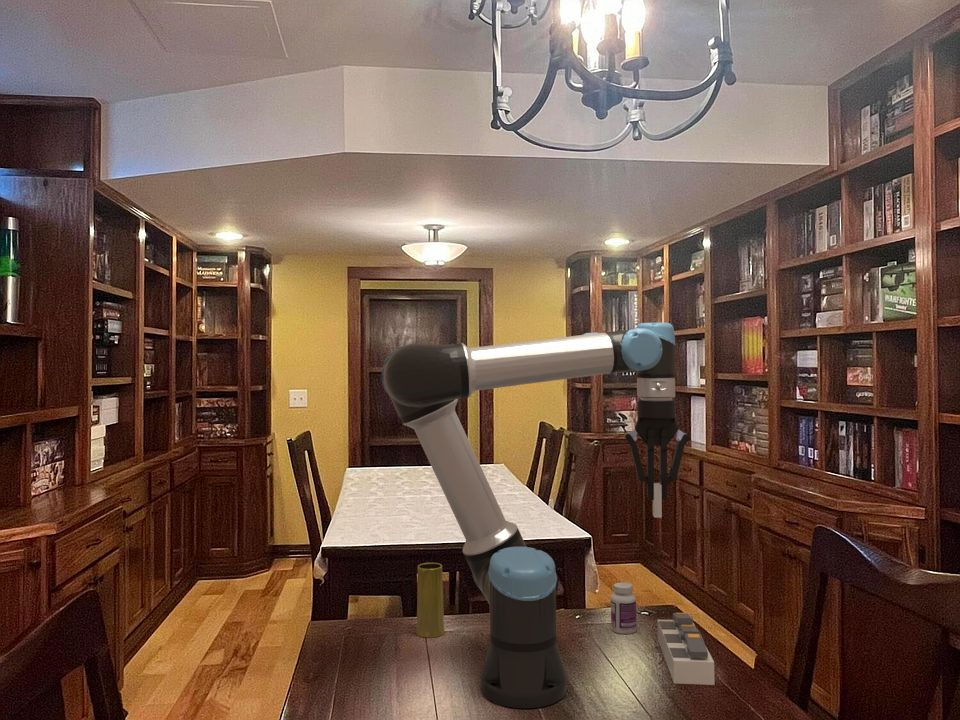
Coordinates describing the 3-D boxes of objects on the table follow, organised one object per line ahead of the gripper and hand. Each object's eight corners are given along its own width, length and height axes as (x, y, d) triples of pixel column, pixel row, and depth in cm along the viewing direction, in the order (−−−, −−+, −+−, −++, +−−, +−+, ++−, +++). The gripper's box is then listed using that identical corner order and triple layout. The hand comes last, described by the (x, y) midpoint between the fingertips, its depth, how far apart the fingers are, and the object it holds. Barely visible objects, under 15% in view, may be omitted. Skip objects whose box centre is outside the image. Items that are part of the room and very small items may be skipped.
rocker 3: (690, 657, 128) (690, 650, 128) (684, 639, 134) (684, 632, 134) (707, 658, 128) (707, 651, 128) (701, 639, 134) (701, 633, 133)
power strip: (674, 683, 128) (673, 656, 128) (657, 638, 149) (657, 616, 149) (714, 685, 127) (714, 658, 127) (692, 640, 148) (692, 617, 148)
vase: (413, 629, 155) (412, 563, 155) (440, 626, 157) (440, 560, 157) (419, 639, 149) (419, 570, 150) (448, 636, 151) (447, 568, 151)
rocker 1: (677, 624, 142) (677, 617, 142) (672, 619, 148) (672, 612, 148) (693, 624, 141) (692, 617, 142) (687, 619, 147) (687, 612, 148)
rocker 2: (683, 637, 135) (683, 630, 135) (678, 631, 141) (678, 624, 141) (700, 638, 134) (699, 630, 135) (694, 631, 140) (693, 624, 141)
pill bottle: (640, 628, 155) (639, 583, 155) (631, 636, 150) (630, 590, 150) (616, 624, 157) (615, 579, 158) (607, 631, 153) (606, 586, 153)
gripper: (624, 400, 142) (625, 519, 142) (692, 400, 141) (693, 520, 141) (621, 398, 150) (622, 511, 150) (686, 398, 148) (687, 513, 148)
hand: (657, 516), depth 145 cm, fingers closed
